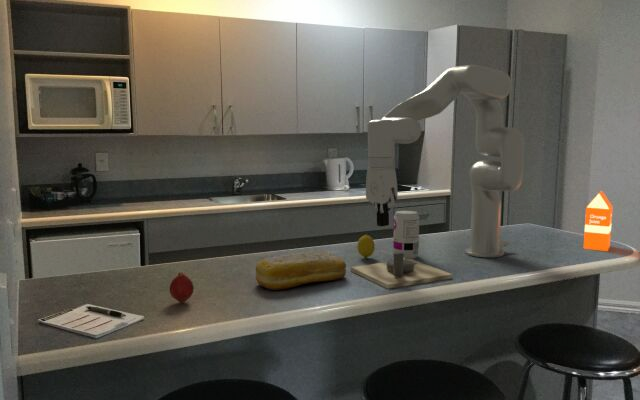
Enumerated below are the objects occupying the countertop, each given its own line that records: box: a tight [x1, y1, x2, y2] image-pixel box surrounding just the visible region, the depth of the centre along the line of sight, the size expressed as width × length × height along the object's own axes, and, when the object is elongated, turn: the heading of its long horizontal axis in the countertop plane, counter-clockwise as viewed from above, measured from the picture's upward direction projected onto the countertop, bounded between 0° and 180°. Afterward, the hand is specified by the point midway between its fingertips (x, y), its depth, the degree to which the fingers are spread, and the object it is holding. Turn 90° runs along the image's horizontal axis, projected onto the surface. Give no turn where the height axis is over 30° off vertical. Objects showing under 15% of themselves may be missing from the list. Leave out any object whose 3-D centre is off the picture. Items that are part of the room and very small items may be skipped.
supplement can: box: [392, 210, 420, 260], centre depth 184 cm, size 8×8×15 cm
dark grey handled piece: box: [386, 252, 414, 277], centre depth 164 cm, size 19×8×6 cm, turn 167°
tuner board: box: [350, 259, 453, 290], centre depth 163 cm, size 22×20×1 cm
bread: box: [255, 251, 347, 291], centre depth 156 cm, size 13×26×8 cm, turn 124°
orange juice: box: [583, 190, 614, 252], centre depth 196 cm, size 8×9×20 cm
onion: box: [169, 271, 195, 304], centre depth 138 cm, size 6×6×8 cm
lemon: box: [357, 234, 375, 259], centre depth 182 cm, size 6×6×8 cm
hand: (382, 225), depth 162 cm, fingers closed
